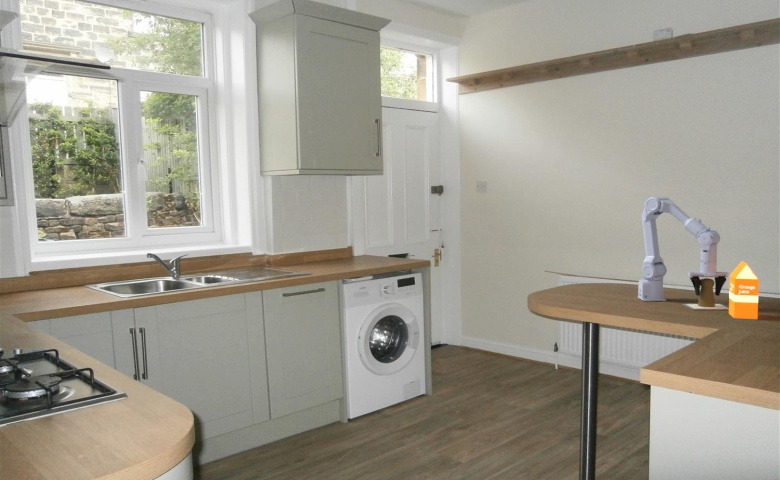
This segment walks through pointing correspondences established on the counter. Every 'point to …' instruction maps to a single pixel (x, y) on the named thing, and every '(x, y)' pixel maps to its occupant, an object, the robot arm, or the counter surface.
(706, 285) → the cork
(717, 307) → the notepad
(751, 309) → the orange juice
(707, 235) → the robot arm
